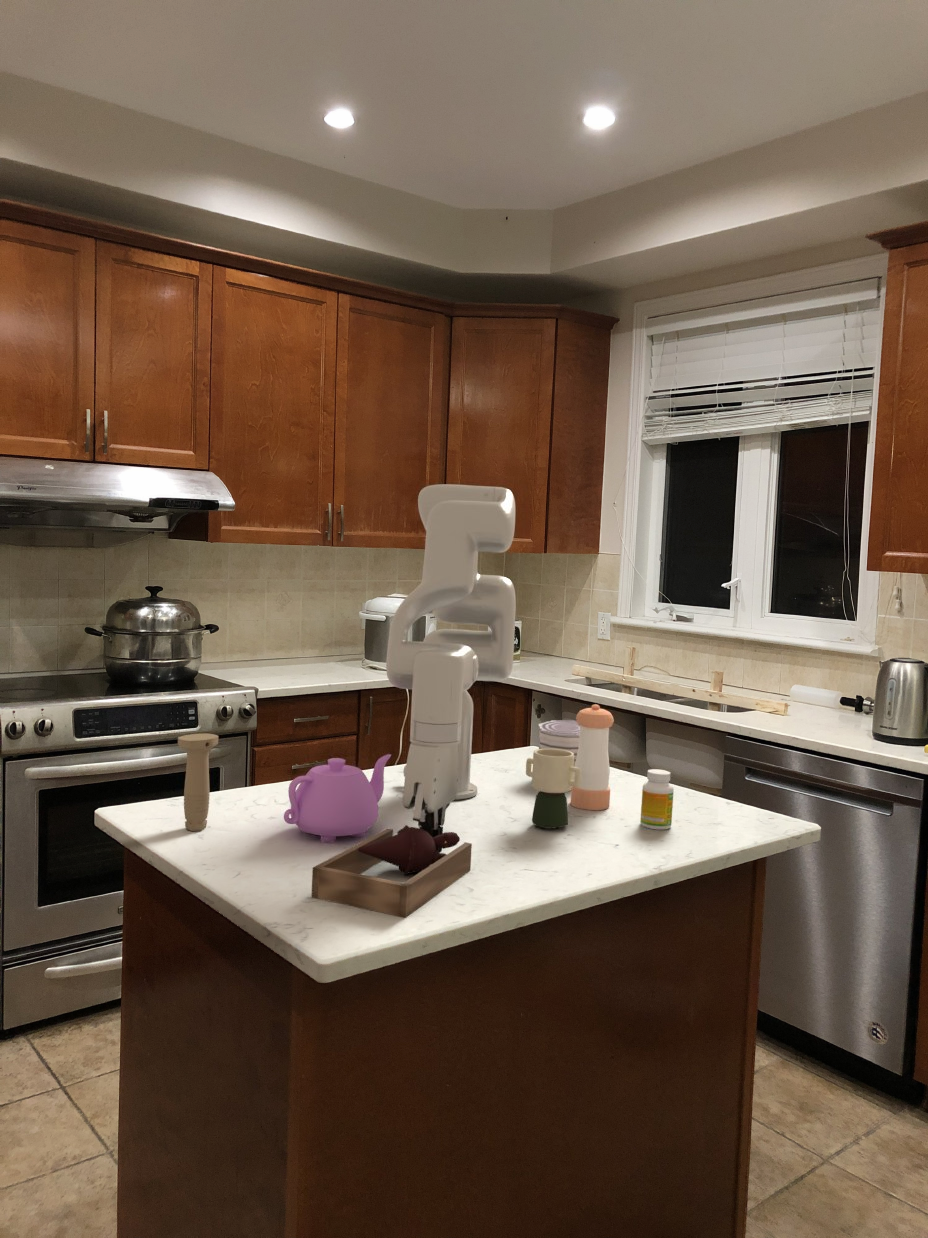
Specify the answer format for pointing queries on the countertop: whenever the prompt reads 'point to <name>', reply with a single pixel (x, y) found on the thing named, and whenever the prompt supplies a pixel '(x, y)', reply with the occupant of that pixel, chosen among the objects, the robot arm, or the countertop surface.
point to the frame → (352, 888)
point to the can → (560, 735)
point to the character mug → (552, 785)
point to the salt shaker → (593, 759)
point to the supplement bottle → (657, 800)
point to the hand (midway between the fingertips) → (430, 852)
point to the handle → (197, 778)
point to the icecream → (411, 848)
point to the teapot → (336, 799)
